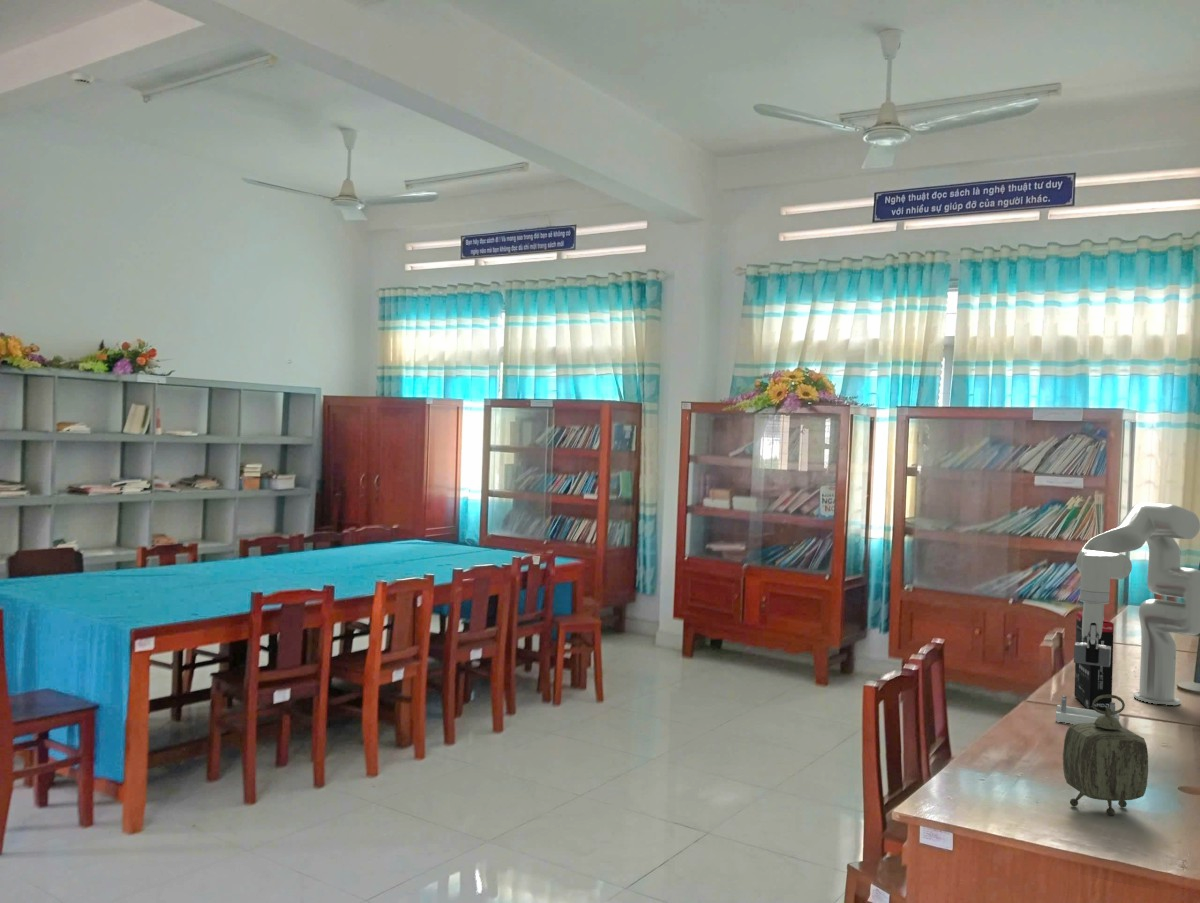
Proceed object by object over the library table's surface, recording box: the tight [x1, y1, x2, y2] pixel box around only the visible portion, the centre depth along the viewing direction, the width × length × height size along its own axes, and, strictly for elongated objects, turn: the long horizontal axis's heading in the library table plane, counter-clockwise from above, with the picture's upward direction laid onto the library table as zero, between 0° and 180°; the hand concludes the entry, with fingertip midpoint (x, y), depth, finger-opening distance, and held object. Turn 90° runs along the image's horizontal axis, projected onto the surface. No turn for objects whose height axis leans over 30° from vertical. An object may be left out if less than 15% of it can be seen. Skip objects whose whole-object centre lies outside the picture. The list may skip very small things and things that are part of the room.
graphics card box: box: [1073, 610, 1115, 711], centre depth 294 cm, size 17×7×27 cm, turn 168°
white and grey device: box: [1055, 695, 1121, 725], centre depth 275 cm, size 11×16×6 cm
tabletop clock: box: [1062, 694, 1149, 817], centre depth 205 cm, size 14×9×25 cm, turn 92°
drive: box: [1073, 641, 1111, 667], centre depth 275 cm, size 6×9×5 cm, turn 60°
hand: (1091, 659), depth 275 cm, fingers closed on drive, 5 cm apart
